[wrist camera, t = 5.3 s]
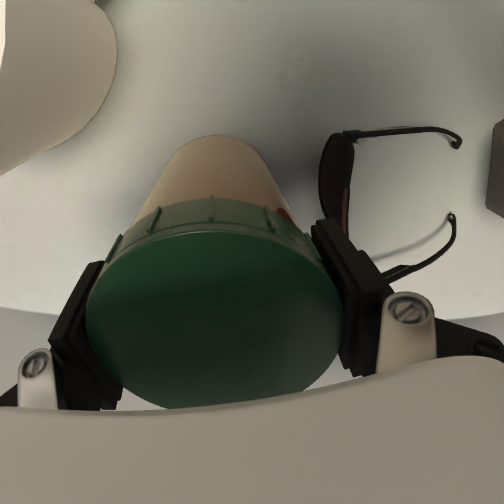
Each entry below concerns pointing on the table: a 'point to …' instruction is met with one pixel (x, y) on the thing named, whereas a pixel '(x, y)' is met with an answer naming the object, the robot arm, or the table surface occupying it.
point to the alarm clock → (497, 172)
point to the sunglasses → (339, 176)
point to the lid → (214, 306)
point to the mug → (50, 73)
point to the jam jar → (216, 177)
